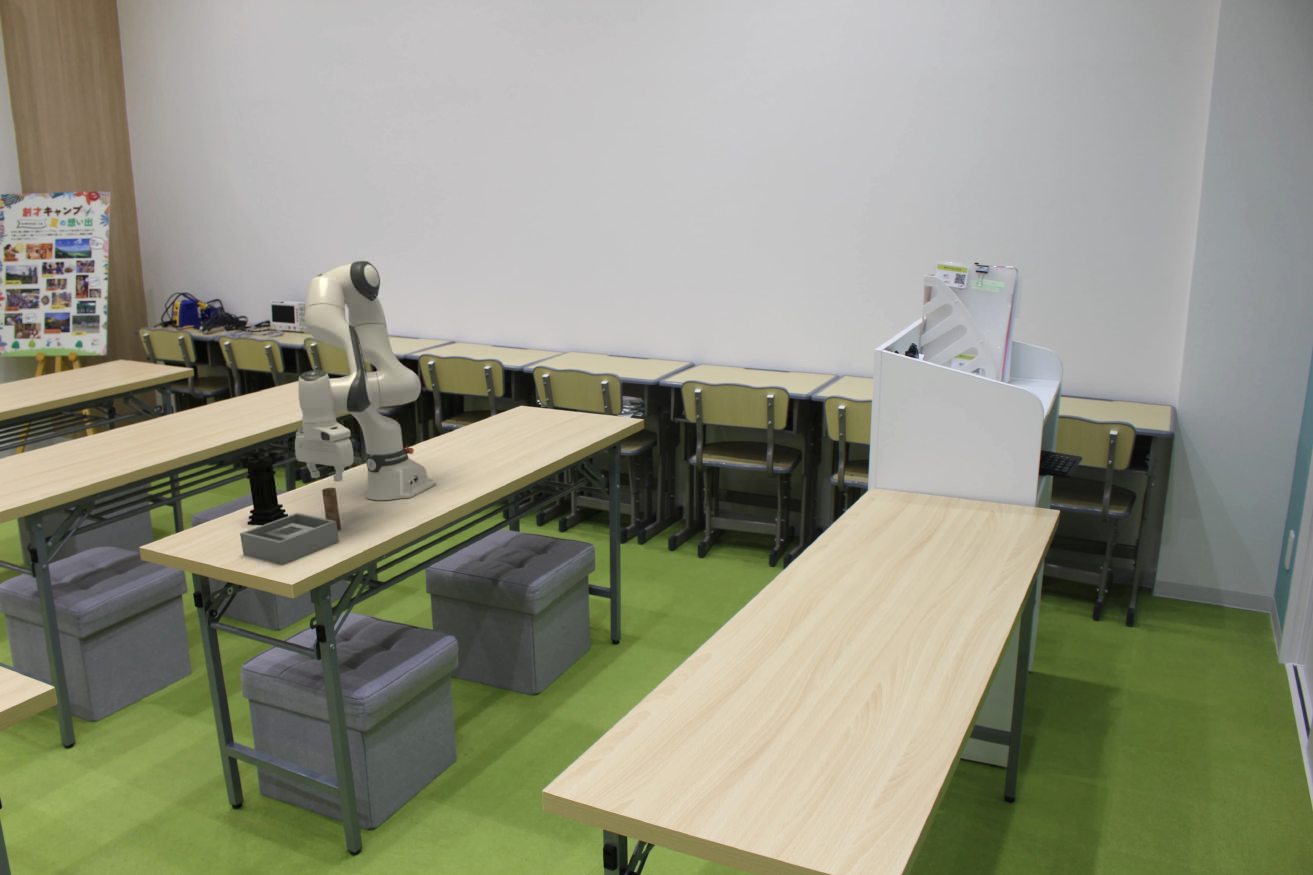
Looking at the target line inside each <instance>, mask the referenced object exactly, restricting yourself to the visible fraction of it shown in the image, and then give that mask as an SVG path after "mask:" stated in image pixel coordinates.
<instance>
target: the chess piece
mask: <svg viewBox="0 0 1313 875" xmlns="http://www.w3.org/2000/svg"><path fill="white" fill-rule="evenodd" d="M276 457H278V452H277V451H270V452H268V455H261V451H259V450H257V451H255V450H254V451H252V452H251V457H250V458H249V456H242V457H241V456H240V457H239V462H240V463H242V468H243V469H247V472H248V474H247V476H246V479H248V480H249V486H250V492H251V499H252V500H251V501H252V506H253V508H252V509H251V510H249V514H250V515H249V516H248V520H249V521H247V525H248V526H262V525H265V524H267V523H270V522H273V521H276V520H279V519H281V518H284V517H287V516H289V514H288V513H286V509H285V508H283V507H284V505H283V504H281V503H280V504H279V501H278V495H277V494H278V492H277V487H276V486H277V485H276V480H275V475H276V474H277V473H276V470H274V466H273V465H274V464H276V463H277V458H276Z"/></svg>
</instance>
